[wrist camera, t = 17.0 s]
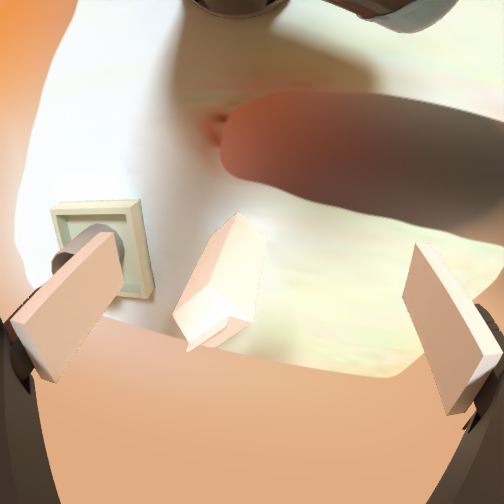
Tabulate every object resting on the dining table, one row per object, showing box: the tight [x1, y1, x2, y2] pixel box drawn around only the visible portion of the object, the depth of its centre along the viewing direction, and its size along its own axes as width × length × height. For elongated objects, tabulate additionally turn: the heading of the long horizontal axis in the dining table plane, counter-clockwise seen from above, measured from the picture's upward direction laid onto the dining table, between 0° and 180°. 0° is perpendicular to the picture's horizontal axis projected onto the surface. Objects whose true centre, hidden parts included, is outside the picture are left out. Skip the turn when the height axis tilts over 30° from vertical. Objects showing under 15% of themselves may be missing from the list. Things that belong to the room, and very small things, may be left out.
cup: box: [52, 223, 125, 275], centre depth 47 cm, size 8×8×10 cm
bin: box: [50, 199, 155, 299], centre depth 50 cm, size 16×16×4 cm
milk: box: [172, 212, 266, 352], centre depth 39 cm, size 6×6×22 cm
